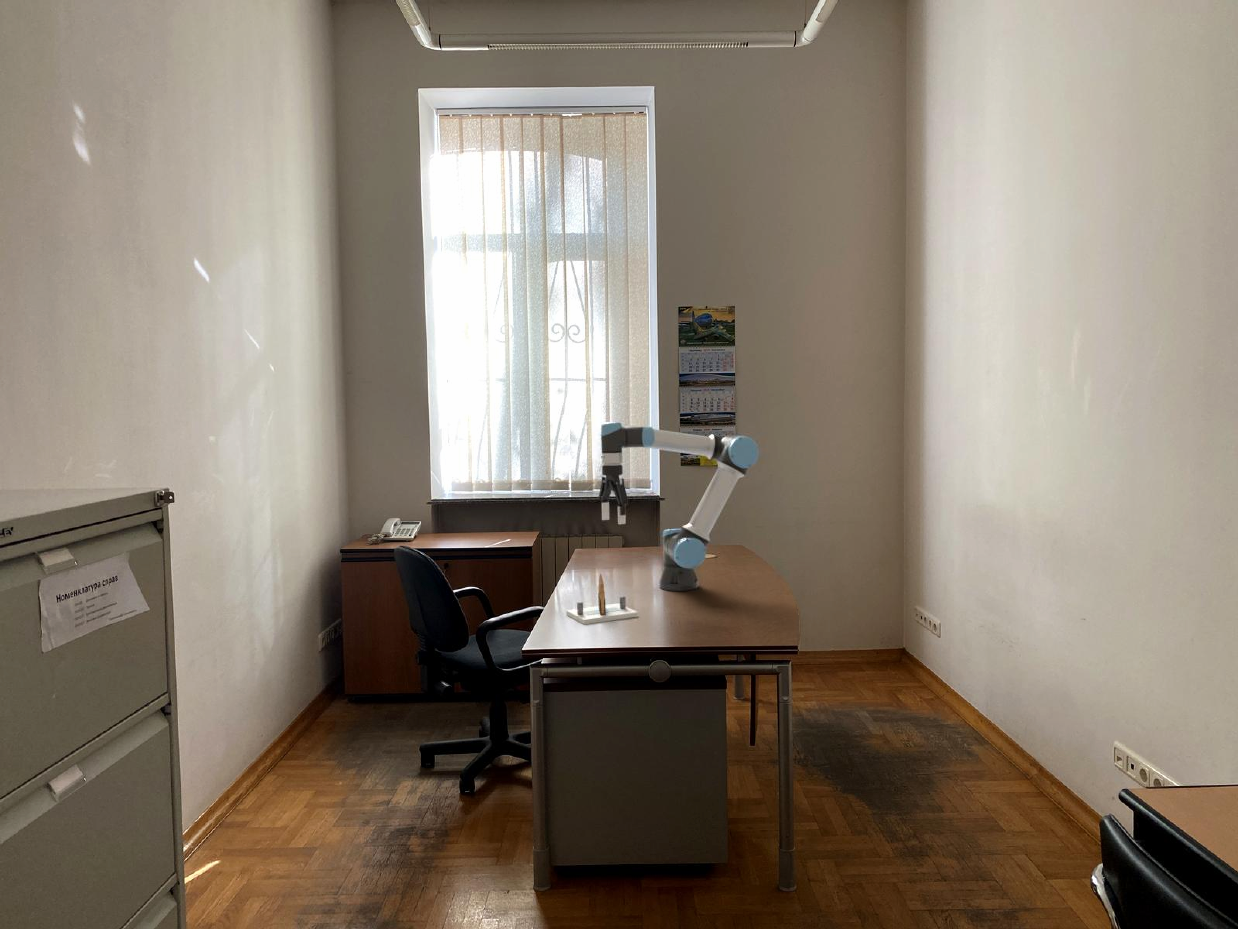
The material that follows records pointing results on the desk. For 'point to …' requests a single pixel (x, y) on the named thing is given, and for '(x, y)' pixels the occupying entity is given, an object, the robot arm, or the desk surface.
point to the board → (594, 615)
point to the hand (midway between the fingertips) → (613, 522)
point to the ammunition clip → (601, 597)
